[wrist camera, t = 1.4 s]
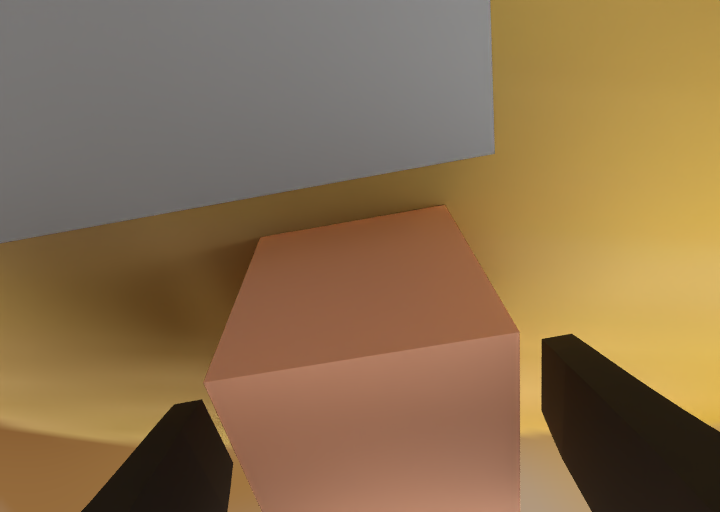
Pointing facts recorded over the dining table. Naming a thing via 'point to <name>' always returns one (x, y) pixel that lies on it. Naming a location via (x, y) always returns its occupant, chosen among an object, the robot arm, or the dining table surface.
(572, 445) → the robot arm
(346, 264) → the terracotta brick
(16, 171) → the baseplate
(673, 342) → the dining table surface
